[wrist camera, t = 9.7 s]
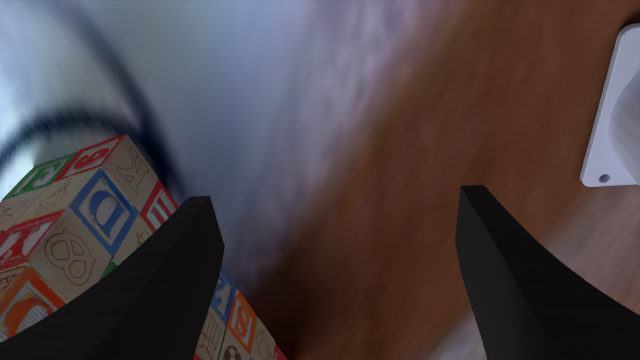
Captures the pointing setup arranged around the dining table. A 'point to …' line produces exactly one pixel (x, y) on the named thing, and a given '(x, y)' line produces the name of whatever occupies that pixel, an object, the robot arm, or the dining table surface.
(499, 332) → the robot arm
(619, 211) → the dining table surface
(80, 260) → the stack of blocks
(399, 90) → the dining table surface
